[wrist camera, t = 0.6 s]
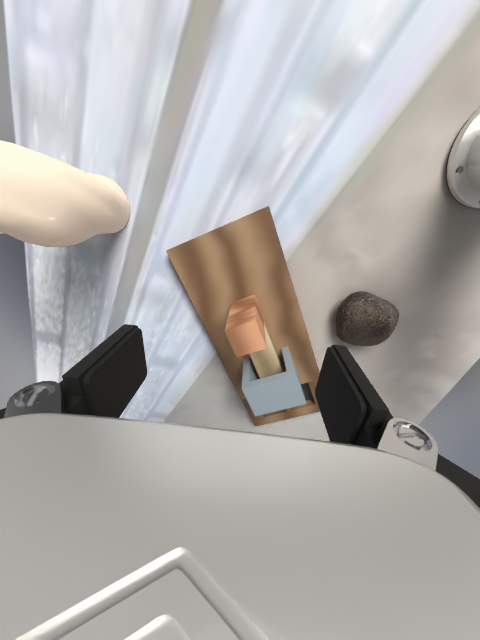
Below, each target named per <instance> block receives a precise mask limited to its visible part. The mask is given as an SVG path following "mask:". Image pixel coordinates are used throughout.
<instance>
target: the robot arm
mask: <svg viewBox="0 0 480 640" xmlns="http://www.w3.org/2000/svg"><path fill="white" fill-rule="evenodd" d="M447 180H448V186H449V188H450V191H451V193H452V195H453V196H454V197H455V198H456V200H457V201H459V202H460V203H462V204H463V205H465V206H468V207H471V208H480V108H479V109H478V110H477V111H476V112H475V113H474V114H473V115H472V116H471V118H470V119H469V120H468V121H467V123H466V124H465V125H464V127H463V128H462V130H461V131H460V133H459V135H458V137H457V139H456V140H455V142H454V145H453V147H452V150H451V153H450V156H449V160H448V165H447ZM146 376H147V367H146V360H145V352H144V345H143V337H142V331H141V329H139V328H138V326H136V325H126V324H125V325H123V326H122V327H120V328H119V329H118V330H117V331H116V332H114V333H113V334H112V335H111V336H110V337H108V338H107V339H106V340H105V341H104V342H102V343H101V344H100V345H99V346H98V347H96V348H95V349H94V350H93V351H92V352H90V353H89V354H88V355H87V356H86V357H84V358H83V359H82V360H81V361H80V362H78V363H77V364H76V365H75V366H73V367H72V368H71V369H70V370H69V371H67V372H66V373H65V374H64V375H63V376H62V378H63V380H62V381H61V382H60V383H57V382H54V381H42V382H38V383H34V384H31V385H29V386H26V387H24V388H22V389H20V390H19V391H18V392H16V393H15V394H14V395H12V396H11V397H10V399H9V401H8V402H7V406H6V408H4V409H1V410H0V640H480V479H478V478H477V477H475V476H473V475H472V474H470V473H468V472H467V471H465V470H464V469H462V468H460V467H459V466H457V465H455V464H454V463H452V462H450V461H449V460H447V459H446V458H444V457H442V456H441V455H439V454H438V445H437V443H436V441H435V439H434V438H433V437H432V436H431V435H430V434H429V433H428V432H427V431H426V430H425V429H424V428H422V427H421V426H419V425H418V424H416V423H414V422H412V421H409V420H407V419H403V418H393V416H392V415H391V413H390V412H389V409H388V408H387V406H386V405H385V403H384V402H383V400H382V399H381V397H380V396H379V395H378V393H377V392H376V390H375V389H374V387H373V386H372V384H371V383H370V381H369V380H368V378H367V377H366V375H365V374H364V373H363V371H362V370H361V368H360V367H359V365H358V364H357V362H356V361H355V359H354V358H353V356H352V355H351V353H350V352H349V351H348V349H347V348H346V347H345V346H340V345H332V346H331V347H328V348H327V351H326V354H325V357H324V361H323V364H322V368H321V371H320V375H319V378H318V382H317V385H316V388H315V396H316V399H317V402H318V405H319V408H320V412H321V415H322V418H323V421H324V424H325V427H326V430H327V433H328V436H329V439H330V442H329V441H321V440H313V439H305V438H296V437H288V436H279V435H271V434H262V433H253V432H244V431H235V430H226V429H217V428H208V427H199V426H190V425H181V424H171V423H162V422H152V421H142V420H133V419H123V418H119V417H120V415H121V414H122V412H123V411H124V409H125V408H126V406H127V405H128V403H129V402H130V400H131V399H132V398H133V396H134V395H135V393H136V392H137V390H138V389H139V387H140V386H141V384H142V383H143V381H144V380H145V378H146Z"/></svg>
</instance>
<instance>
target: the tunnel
mask: <svg viewBox="0 0 480 640" xmlns="http://www.w3.org/2000/svg"><path fill="white" fill-rule="evenodd" d="M281 349H282V353H283V357H284V362H285V366H286V372H283V373H279V374H275V375H272V376H268V377H265V378H261V379H259V378H258V376H257V373H256V371H255V369H254V367H253V364H252V362H251V360H250V358H247V359H243V374H242V391H243V393H244V395H245V397H246V399H247V401H248V403H249V405H250V407H251V409H252V411H253V413H254V415H255V416H259V415H263V414H267V413H271V412H275V411H279V410H284V409H288V408H292V407H296V406H300V405H304V404H306V400H305V397H304V394H303V390H302V387H301V383H300V380H299V376H298V373H297V370H296V367H295V364H294V362H293V359H292V356H291V353H290V350H289V348H288V346H287V347H283V348H281Z"/></svg>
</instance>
